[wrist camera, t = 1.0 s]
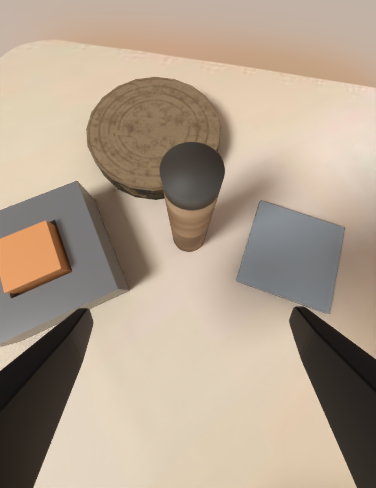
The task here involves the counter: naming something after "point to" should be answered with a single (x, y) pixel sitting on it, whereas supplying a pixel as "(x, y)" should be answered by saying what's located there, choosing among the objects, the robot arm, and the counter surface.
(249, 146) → the counter surface
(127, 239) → the counter surface
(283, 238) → the mat
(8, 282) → the button
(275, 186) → the counter surface
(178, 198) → the dark-capped brown cylinder
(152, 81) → the brown ringed flat disc
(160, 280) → the counter surface
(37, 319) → the grey square block
